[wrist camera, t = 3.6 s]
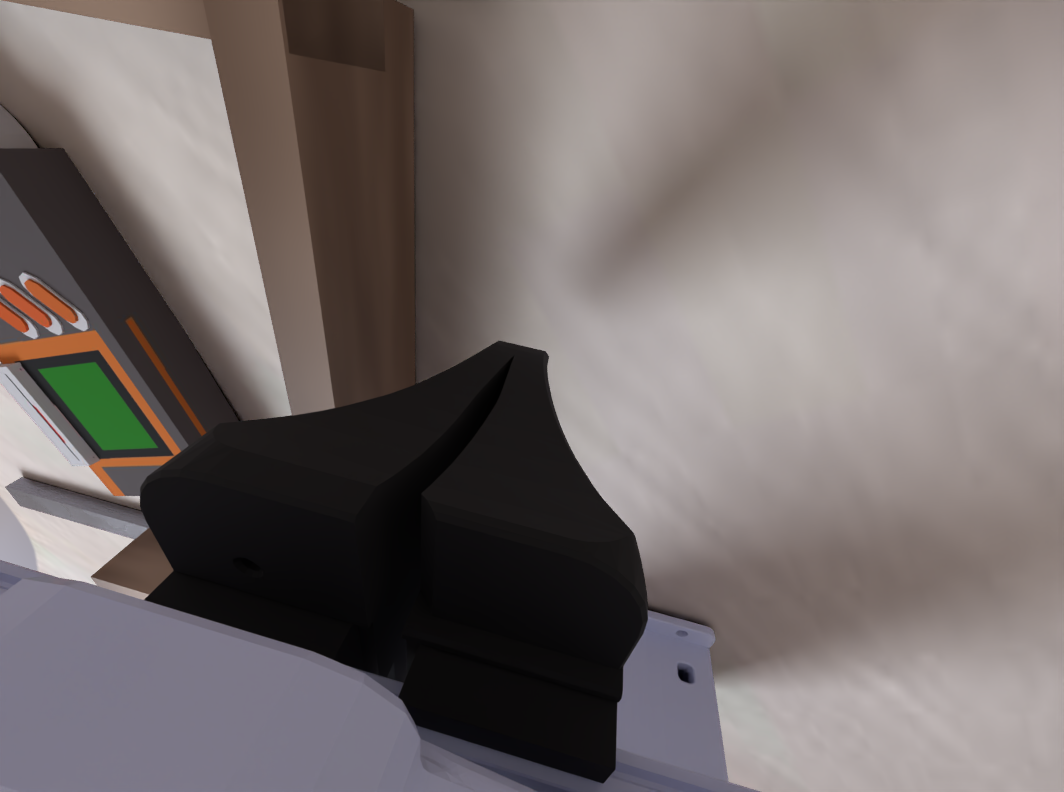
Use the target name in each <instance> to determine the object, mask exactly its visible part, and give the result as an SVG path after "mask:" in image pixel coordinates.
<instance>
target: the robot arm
mask: <svg viewBox="0 0 1064 792" xmlns="http://www.w3.org/2000/svg"><path fill="white" fill-rule="evenodd" d="M548 359H549V356H548V354H547V353H546V351H542V350H537V349H533V348H529V347H525V346H520V345H516V344H512V343H508V342H503V341H498V342H496V343H494V344H492V345H491V346H489V347H487V348H486V349H484V350H482V351H481V352H479V353H477V354H475V355H474V356H472V357H470V358H469V359H467V360H465V361H463V362H461V363H460V364H458V365H456V366H454V367H452V368H450V369H448V370H446V371H444V372H442V373H440V374H438V375H435V376H433V377H431V378H429V379H427V380H425V381H422V382H420V383H418V384H415V385H413V386H410V387H407V388H405V389H402V390H399V391H396V392H393V393H390V394H387V395H384V396H380V397H377V398H373V399H369V400H365V401H362V402H358V403H354V404H350V405H347V406H342V407H337V408H332V409H328V410H323V411H317V412H311V413H305V414H299V415H292V416H285V417H277V418H267V419H258V420H248V421H239V422H227V423H219V424H218V425H216V426H215V427H214V428H212V429H211V430H209V431H208V432H207V433H205V434H204V435H203V436H201V437H200V438H199V439H197V440H196V441H195V442H193V443H192V444H190V445H189V446H188V447H186V448H185V449H184V450H182V451H181V452H180V453H178V454H177V455H176V456H174V457H173V458H171V459H170V460H169V461H167V462H166V463H165V464H163V465H162V466H161V467H159V468H158V469H157V470H155V471H154V472H152V473H151V474H150V475H148V476H147V477H146V479H145V481H144V482H143V484H142V485H141V487H140V507H141V510H142V512H143V515H144V517H145V520H146V522H147V524H148V526H149V527H150V529H151V531H152V533H153V535H154V536H155V538H156V540H157V542H158V543H159V545H160V547H161V549H162V551H163V552H164V554H165V556H166V558H167V559H168V561H169V563H170V565H171V567H172V568H173V570H174V571H173V572H172V573H171V574H170V575H169V576H168V577H167V578H166V579H165V580H164V581H163V582H162V583H161V584H159V585H158V586H157V587H156V588H155V589H154V590H153V591H152V592H151V593H150V594H149V595H148V596H147V597H146V598H145V599H144V600H142V599H138V598H135V597H132V596H129V595H125V594H122V593H119V592H115V591H112V590H109V589H106V588H102V587H99V586H96V585H92V584H89V583H86V582H82V581H75V580H69V579H62V578H58V577H54V576H51V575H48V574H44V573H41V572H38V571H35V570H31V569H28V568H25V567H21V566H18V565H15V564H12V563H8V562H5V561H2V560H0V792H760V791H757V790H753V789H750V788H747V787H744V786H740V785H737V784H734V783H730V782H728V775H727V768H726V761H725V754H724V747H723V740H722V733H721V726H720V719H719V712H718V706H717V699H716V692H715V685H714V678H713V671H712V664H711V657H710V650H709V648H710V647H711V646H712V645H713V643H714V642H715V640H716V639H715V633H714V631H713V630H712V629H711V628H710V627H707V626H704V625H700V624H697V623H693V622H689V621H686V620H682V619H679V618H675V617H671V616H668V615H664V614H661V613H657V612H653V611H650V610H648V601H647V591H646V585H645V578H644V573H643V568H642V562H641V558H640V554H639V550H638V546H637V542H636V538H635V535H634V533H633V532H632V531H631V530H630V528H629V527H628V526H627V525H626V524H625V523H624V522H623V521H622V520H621V519H620V517H619V516H618V515H617V514H616V513H615V512H614V511H613V510H612V509H611V507H610V506H609V505H608V504H607V503H606V502H605V501H604V500H603V498H602V497H601V496H600V494H599V493H598V492H597V490H596V489H595V488H594V486H593V485H592V483H591V482H590V480H589V479H588V477H587V475H586V474H585V472H584V471H583V469H582V467H581V466H580V464H579V463H578V461H577V459H576V458H575V456H574V454H573V452H572V450H571V448H570V446H569V444H568V442H567V440H566V438H565V435H564V433H563V431H562V428H561V426H560V423H559V420H558V418H557V414H556V411H555V408H554V405H553V401H552V397H551V392H550V388H549V382H548V374H547V364H548Z"/></svg>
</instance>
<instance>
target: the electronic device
mask: <svg viewBox="0 0 1064 792" xmlns="http://www.w3.org/2000/svg"><path fill="white" fill-rule="evenodd" d="M0 362H1V364H0V384H1V385H2V386H3V387H4V388H5V389H6V390H7V392H8V393H9V394H10V395H11V396H12V397H13V399H14V400H15V401H16V402H17V403H18V404H19V405H20V407H21V408H22V409H23V410H24V411H25V412H26V414H27V415H28V416H29V417H30V418H31V419H32V420H33V422H34V423H35V424H36V425H37V426H38V427H39V428H40V430H41V431H42V432H43V433H44V434H45V435H46V437H47V438H48V439H49V440H50V441H51V442H52V443H53V445H54V446H55V447H56V448H57V449H58V450H59V452H60V453H61V454H62V455H63V456H64V457H65V458H66V460H67V461H68V462H69V463H70V464H71V465H72V466H89V467H90V468H91V469H92V470H93V472H94V473H95V474H96V475H97V476H98V477H99V479H100V480H101V481H102V482H103V483H104V485H105V486H106V487H107V488H108V489H109V490H110V492H111V493H112V494H113V495H114V496H140V487H141V485H142V484H143V482H144V481H145V479H146V477H147V476H148V475H150V474H151V473H152V472H154V471H155V470H157V469H158V468H159V467H161V466H162V465H163V464H165V463H166V462H167V461H169V460H170V459H171V458H173V457H174V456H176V455H177V454H178V453H180V452H181V451H182V450H184V449H185V448H186V447H188V446H189V445H190V444H192V443H193V442H195V441H196V440H197V439H199V438H200V437H201V436H203V435H204V434H205V433H207V432H208V431H209V430H211V429H212V428H214V427H215V426H216V425H218V424H219V423H227V422H239V420H238V419H237V417H236V415H235V414H234V412H233V410H232V409H231V407H230V405H229V404H228V402H227V401H226V399H225V397H224V396H223V394H222V392H221V391H220V389H219V387H218V386H217V384H216V382H215V381H214V379H213V377H212V376H211V374H210V372H209V371H208V369H207V367H206V366H205V364H204V362H203V361H202V359H201V357H200V356H199V354H198V352H197V351H196V349H195V347H194V346H193V344H192V342H191V341H190V339H189V337H188V336H187V334H186V332H185V331H184V329H183V328H182V326H181V325H180V323H179V322H178V320H177V319H176V317H175V316H174V314H173V313H172V311H171V310H170V308H169V307H168V305H167V304H166V302H165V301H164V299H163V298H162V296H161V295H160V293H159V292H158V290H157V289H156V287H155V286H154V284H153V283H152V281H151V280H150V278H149V277H148V275H147V274H146V272H145V271H144V269H143V268H142V266H141V265H140V263H139V262H138V260H137V259H136V257H135V256H134V254H133V253H132V251H131V250H130V248H129V247H128V245H127V244H126V242H125V241H124V239H123V238H122V236H121V235H120V233H119V232H118V230H117V229H116V227H115V226H114V224H113V223H112V221H111V220H110V218H109V217H108V215H107V214H106V212H105V211H104V209H103V207H102V206H101V204H100V203H99V201H98V200H97V198H96V197H95V195H94V194H93V192H92V191H91V189H90V188H89V186H88V185H87V183H86V182H85V180H84V179H83V177H82V176H81V174H80V173H79V171H78V170H77V168H76V167H75V165H74V164H73V162H72V161H71V159H70V158H69V156H68V155H67V153H66V152H65V150H64V149H63V148H38V147H37V146H36V144H35V143H34V142H33V140H32V139H31V137H30V136H29V134H28V133H27V132H26V131H25V130H24V129H23V127H22V126H21V125H20V124H19V123H18V122H17V120H16V119H15V118H14V117H13V116H12V115H11V114H10V113H8V112H7V111H6V110H5V109H4V108H3V107H2V106H1V105H0Z"/></svg>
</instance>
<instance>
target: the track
mask: <svg viewBox="0 0 1064 792" xmlns="http://www.w3.org/2000/svg"><path fill="white" fill-rule="evenodd" d="M5 488H6V489H7V490H8V491H9V493H10V494H11V495H12V496H13V498H14V499H15V500H16V501H17V503H18V504H19V505H20V506H22V507H26V508H29V509H33V510H36V511H39V512H43V513H46V514H50V515H53V516H57V517H60V518H63V519H67V520H70V521H74V522H77V523H81V524H84V525H87V526H91V527H94V528H98V529H101V530H105V531H108V532H112V533H115V534H118V535H122V536H125V537H129V538H132V539H136V538H137V537H138V536H140V535H141V534H142V533H143V532H144V531H146V530H147V529H148V528H149V526H148V524H147V522H146V520H145V517H144V515H143V512H142V511H139V510H135V509H132V508H128V507H125V506H121V505H118V504H114V503H111V502H107V501H104V500H100V499H97V498H93V497H90V496H86V495H83V494H79V493H75V492H72V491H68V490H65V489H61V488H58V487H54V486H51V485H47V484H44V483H40V482H37V481H33V480H30V479H26V478H23V477H21V478H20V479H18V480H16V481H15V482H13V483H11V484H9V485H8V486H6V487H5Z"/></svg>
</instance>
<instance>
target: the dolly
mask: <svg viewBox="0 0 1064 792" xmlns="http://www.w3.org/2000/svg"><path fill="white" fill-rule="evenodd" d="M3 1H9V2H14V3H19V4H25V5H30V6H35V7H41V8H46V9H51V10H57V11H62V12H67V13H73V14H78V15H84V16H89V17H94V18H100V19H105V20H110V21H116V22H121V23H126V24H132V25H137V26H142V27H148V28H153V29H159V30H164V31H169V32H175V33H180V34H185V35H191V36H196V37H201V38H207V39H211V40H212V45H213V50H214V54H215V59H216V64H217V68H218V73H219V78H220V82H221V87H222V92H223V96H224V101H225V106H226V110H227V115H228V120H229V124H230V129H231V134H232V138H233V143H234V148H235V152H236V157H237V161H238V166H239V171H240V175H241V180H242V185H243V189H244V194H245V199H246V203H247V208H248V213H249V217H250V222H251V227H252V231H253V236H254V241H255V245H256V250H257V255H258V259H259V264H260V269H261V273H262V278H263V283H264V287H265V292H266V296H267V301H268V306H269V310H270V315H271V320H272V324H273V329H274V334H275V338H276V343H277V348H278V352H279V357H280V362H281V366H282V371H283V376H284V380H285V385H286V390H287V394H288V399H289V404H290V408H291V413H292V415H299V414H305V413H311V412H317V411H323V410H328V409H332V408H337V407H342V406H347V405H350V404H354V403H358V402H362V401H365V400H369V399H373V398H377V397H380V396H384V395H387V394H390V393H393V392H396V391H399V390H402V389H405V388H407V387H410V386H413V385H415V208H414V10H413V9H411V8H409V7H407V6H405V5H403V4H401V3H399V2H397V1H395V0H3ZM173 571H174V570H173V568H172V567H171V565H170V563H169V561H168V559H167V558H166V556H165V554H164V552H163V551H162V549H161V547H160V545H159V543H158V542H157V540H156V538H155V536H154V535H153V533H152V531H151V529H150V527H149V528H148V529H147V530H146V531H144V532H143V533H142V534H141V535H140V536H138V537H137V538H136V539H135V540H134V541H132V542H131V543H130V544H129V545H128V546H127V547H125V548H124V549H123V550H122V551H121V552H119V553H118V554H117V555H116V556H115V557H114V558H112V559H111V560H110V561H109V562H108V563H106V564H105V565H104V566H103V567H102V568H101V569H99V570H98V571H97V572H96V573H95V574H93V575H92V576H91V578H92V579H93V581H94V582H95V583H96V585H97V586H99V587H102V588H106V589H109V590H112V591H115V592H119V593H122V594H125V595H129V596H132V597H135V598H138V599H142V600H144V599H145V598H146V597H147V596H148V595H149V594H150V593H151V592H152V591H153V590H154V589H155V588H156V587H157V586H158V585H159V584H161V583H162V582H163V581H164V580H165V579H166V578H167V577H168V576H169V575H170V574H171V573H172V572H173Z"/></svg>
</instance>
